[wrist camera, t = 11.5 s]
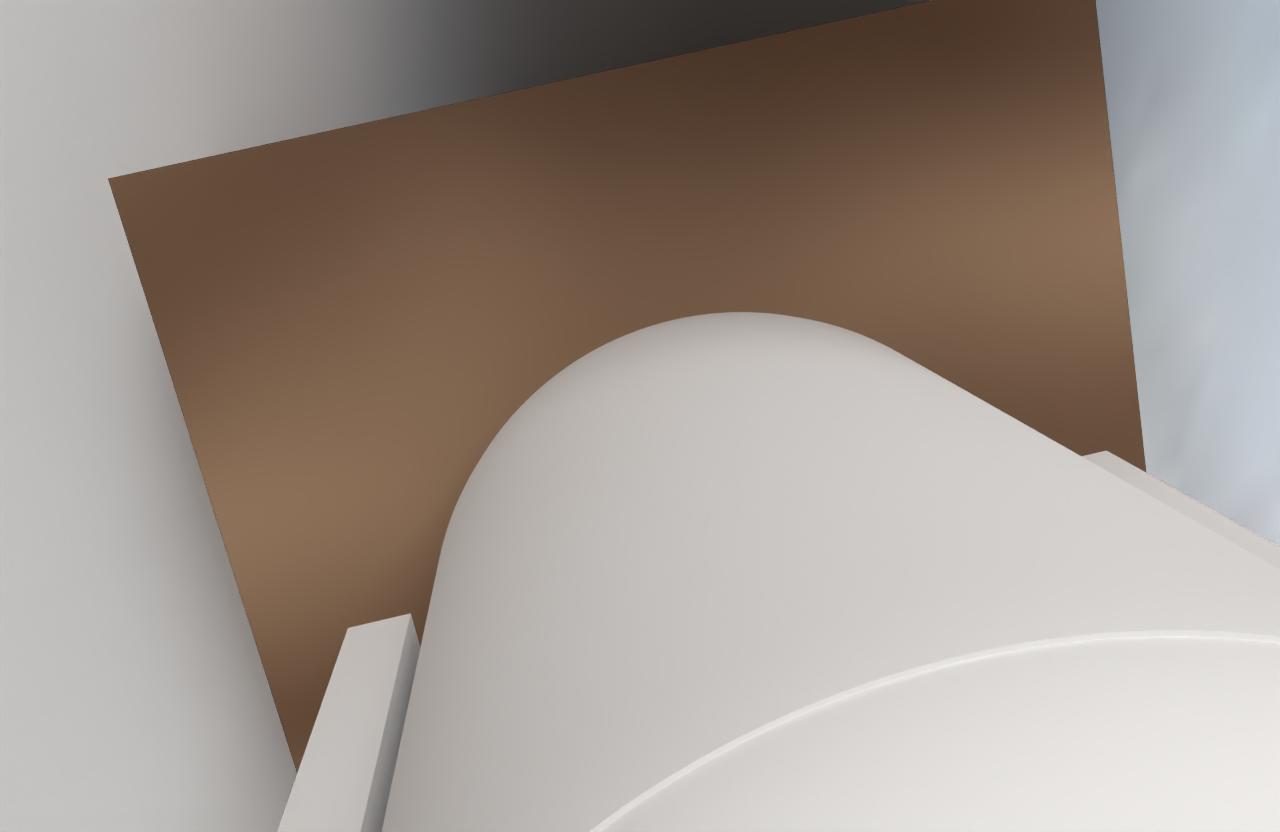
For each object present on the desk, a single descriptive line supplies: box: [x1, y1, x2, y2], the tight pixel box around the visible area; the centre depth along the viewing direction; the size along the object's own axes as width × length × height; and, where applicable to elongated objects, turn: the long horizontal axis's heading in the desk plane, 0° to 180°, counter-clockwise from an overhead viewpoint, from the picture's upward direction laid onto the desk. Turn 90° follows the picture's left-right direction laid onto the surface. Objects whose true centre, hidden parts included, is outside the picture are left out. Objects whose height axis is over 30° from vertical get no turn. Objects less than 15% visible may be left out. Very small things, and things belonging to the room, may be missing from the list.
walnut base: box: [108, 0, 1146, 773], centre depth 21 cm, size 14×14×5 cm
